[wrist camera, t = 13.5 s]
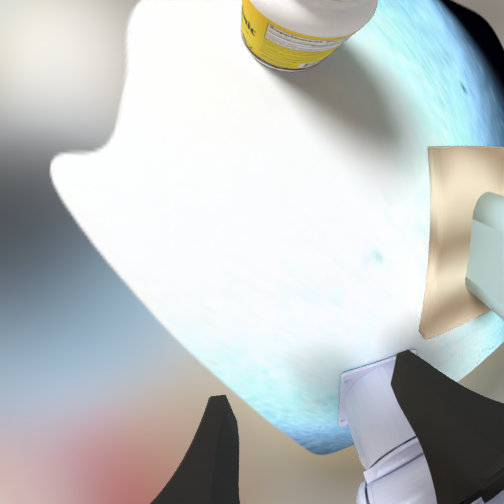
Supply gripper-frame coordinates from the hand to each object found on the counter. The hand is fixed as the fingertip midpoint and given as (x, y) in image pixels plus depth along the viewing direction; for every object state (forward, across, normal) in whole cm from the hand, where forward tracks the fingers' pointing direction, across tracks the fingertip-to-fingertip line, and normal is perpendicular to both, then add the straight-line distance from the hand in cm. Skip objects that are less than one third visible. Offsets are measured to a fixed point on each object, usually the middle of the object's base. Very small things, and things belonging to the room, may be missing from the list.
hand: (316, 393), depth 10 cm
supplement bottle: (+10, -3, -16) cm, 19 cm away
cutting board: (+9, -18, 0) cm, 20 cm away
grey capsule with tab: (+8, -18, 0) cm, 19 cm away
